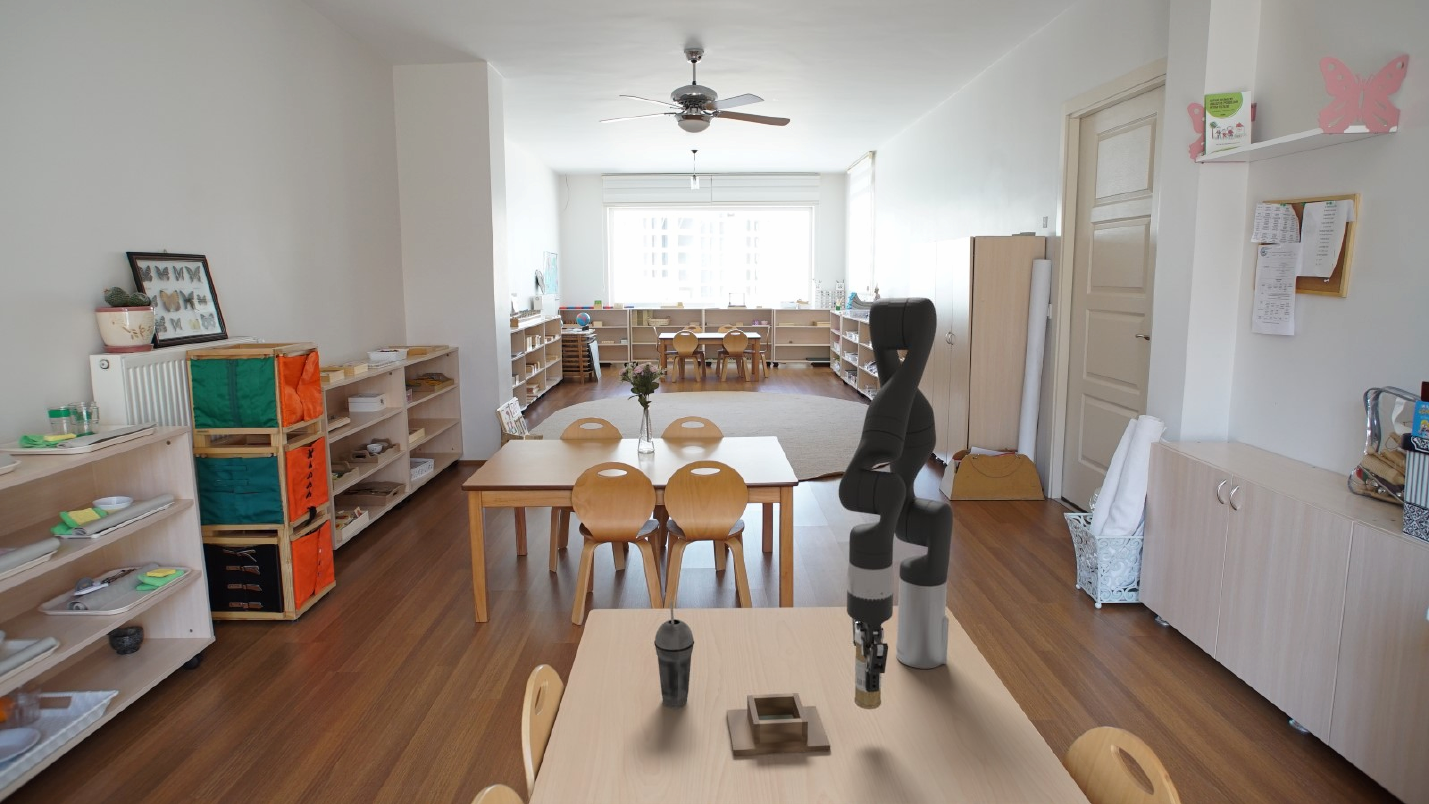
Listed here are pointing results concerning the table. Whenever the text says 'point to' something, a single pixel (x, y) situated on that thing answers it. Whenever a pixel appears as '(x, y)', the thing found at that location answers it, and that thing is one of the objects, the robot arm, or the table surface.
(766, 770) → the table surface
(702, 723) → the table surface
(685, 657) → the beverage cup
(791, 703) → the wooden square holder
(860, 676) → the sprinkles bottle
